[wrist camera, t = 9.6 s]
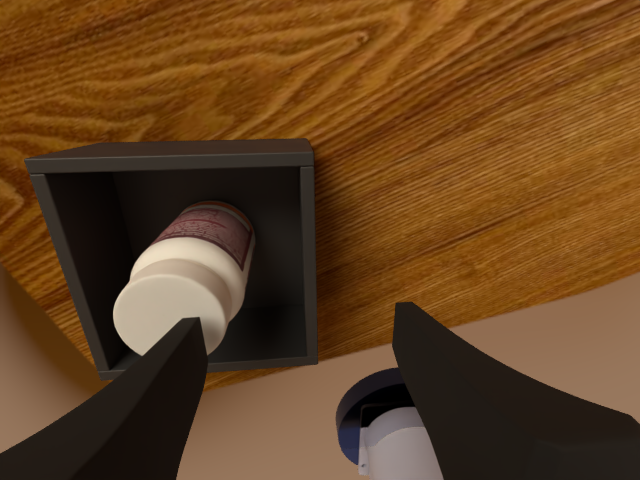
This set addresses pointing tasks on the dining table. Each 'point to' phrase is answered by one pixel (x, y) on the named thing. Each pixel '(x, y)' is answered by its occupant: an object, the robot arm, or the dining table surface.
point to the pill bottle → (188, 277)
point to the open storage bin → (161, 210)
